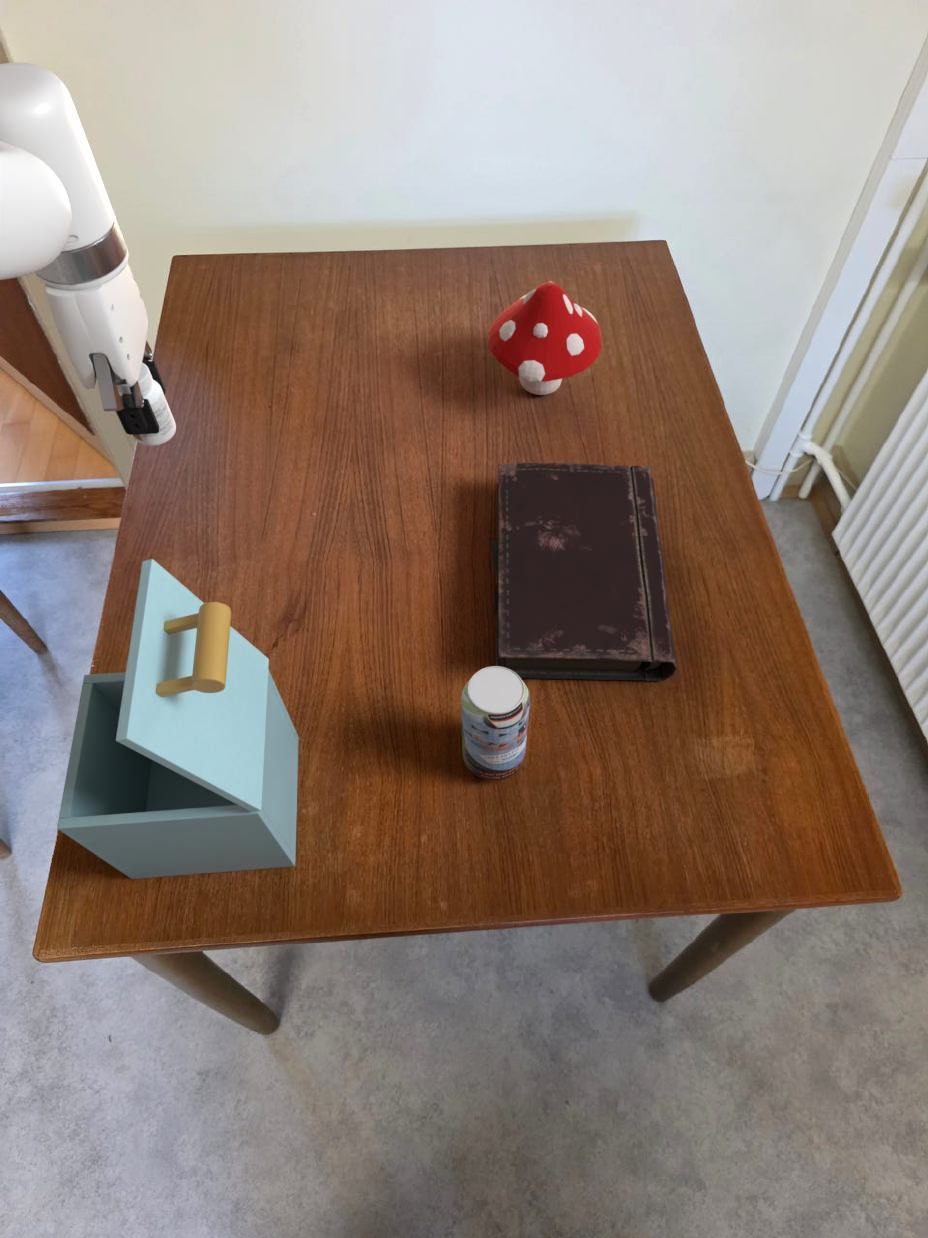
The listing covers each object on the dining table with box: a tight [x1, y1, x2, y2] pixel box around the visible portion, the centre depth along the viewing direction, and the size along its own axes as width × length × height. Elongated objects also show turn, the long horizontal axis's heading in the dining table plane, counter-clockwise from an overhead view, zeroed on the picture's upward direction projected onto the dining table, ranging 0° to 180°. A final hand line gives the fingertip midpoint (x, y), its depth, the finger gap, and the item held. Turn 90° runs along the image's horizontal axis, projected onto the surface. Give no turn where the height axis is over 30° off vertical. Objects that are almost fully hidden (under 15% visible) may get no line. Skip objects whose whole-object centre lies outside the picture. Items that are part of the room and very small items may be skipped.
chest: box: [56, 668, 300, 880], centre depth 69 cm, size 15×13×16 cm
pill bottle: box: [117, 363, 177, 447], centre depth 80 cm, size 4×4×8 cm
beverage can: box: [460, 665, 531, 781], centre depth 74 cm, size 6×7×12 cm
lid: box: [116, 558, 270, 812], centre depth 56 cm, size 15×13×5 cm
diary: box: [489, 462, 678, 682], centre depth 87 cm, size 19×25×5 cm
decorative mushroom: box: [487, 280, 602, 396], centre depth 98 cm, size 14×14×15 cm
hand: (146, 411), depth 81 cm, fingers closed on pill bottle, 4 cm apart
